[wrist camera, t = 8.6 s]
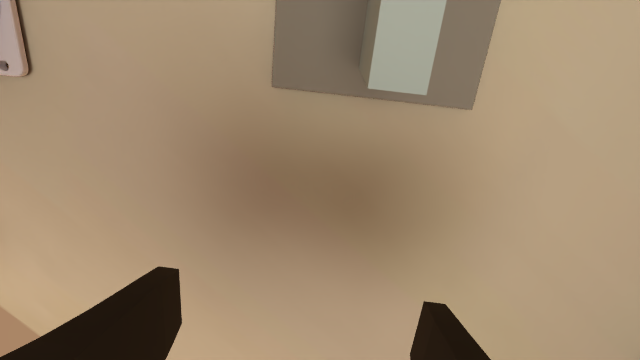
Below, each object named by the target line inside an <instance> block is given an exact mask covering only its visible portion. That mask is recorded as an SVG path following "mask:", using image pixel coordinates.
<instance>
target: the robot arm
mask: <svg viewBox="0 0 640 360" xmlns="http://www.w3.org/2000/svg"><path fill="white" fill-rule="evenodd" d="M6 62H7V63H8V65H9V69H8V68H7V66H6ZM27 73H28V64H27V59H26V53H25V48H24V43H23V38H22V33H21V28H20V23H19V18H18V13H17V7H16V2H15V0H0V75H5V76H14V77H19V76H25V75H26V74H27ZM181 324H182V318H181V299H180V281H179V269H174V268H166V267H157V268H155V269H153V270H152V271H150V272H148V273H147V274H145V275H144V276H142V277H140V278H139V279H137V280H136V281H134V282H132V283H131V284H129V285H128V286H126V287H125V288H123V289H121V290H120V291H118V292H117V293H115V294H113V295H112V296H110V297H109V298H107V299H105V300H104V301H102V302H100V303H99V304H97V305H96V306H94V307H92V308H91V309H89V310H87V311H86V312H84V313H82V314H80V315H79V316H77V317H75V318H73V319H72V320H70V321H68V322H66V323H65V324H63V325H61V326H59V327H58V328H56V329H54V330H52V331H51V332H49V333H47V334H45V335H43V336H41V337H40V338H38V339H36V340H34V341H32V342H30V343H28V344H26V345H24V346H22V347H20V348H18V349H16V350H14V351H12V352H10V353H8V354H6V355H4V356H2V357H0V360H165V359H166V357H167V355H168V353H169V351H170V349H171V347H172V345H173V342H174V340H175V338H176V336H177V333H178V331H179V329H180V326H181ZM410 360H491V359H490V358H489V357H488V356H487V355H486V353H485V352H484V351H483V350H482V349H481V347H480V346H479V345H478V344H477V343H476V341H475V340H474V339H473V338H472V336H471V335H470V334H469V333H468V331H467V330H466V329H465V328H464V327H463V325H462V324H461V323H460V322H459V320H458V319H457V318H456V317H455V315H454V314H453V313H452V312H451V310H450V309H449V308H448V307H447V306H446V304H440V303H433V302H425V301H424V303H423V307H422V311H421V315H420V318H419V322H418V326H417V330H416V333H415V337H414V341H413V345H412V348H411V352H410Z"/></svg>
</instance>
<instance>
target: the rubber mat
mask: <svg viewBox="0 0 640 360" xmlns="http://www.w3.org/2000/svg"><path fill="white" fill-rule="evenodd" d="M500 2H501V0H447V1H446V6H445V10H444V15H443V20H442V24H441V29H440V34H439V38H438V43H437V48H436V52H435V57H434V62H433V66H432V71H431V76H430V80H429V85H428V90H427V94H426V95H420V94H411V93H403V92H394V91H385V90H377V89H368V88H367V85H366V83H365V81H364V79H363V76H362V74H361V72H360V69H359V63H360V56H361V49H362V42H363V35H364V28H365V20H366V13H367V6H368V0H276V11H275V31H274V50H273V70H272V87H278V88H286V89H295V90H303V91H312V92H321V93H329V94H338V95H347V96H355V97H364V98H373V99H381V100H390V101H399V102H407V103H416V104H425V105H433V106H442V107H451V108H459V109H468V110H472V108H473V105H474V101H475V97H476V93H477V89H478V86H479V82H480V78H481V74H482V70H483V67H484V63H485V59H486V55H487V51H488V48H489V44H490V40H491V36H492V32H493V29H494V25H495V21H496V17H497V13H498V10H499V6H500Z"/></svg>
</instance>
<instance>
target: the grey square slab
mask: <svg viewBox="0 0 640 360" xmlns="http://www.w3.org/2000/svg"><path fill="white" fill-rule="evenodd" d="M446 1H447V0H368V6H367V13H366V20H365V28H364V35H363V42H362V49H361V56H360V63H359V69H360V72H361V74H362V76H363V79H364V81H365V83H366V85H367V88H368V89H377V90H385V91H394V92H403V93H411V94H420V95H426V94H427V90H428V85H429V80H430V76H431V71H432V66H433V62H434V57H435V52H436V48H437V43H438V38H439V34H440V29H441V24H442V20H443V15H444V10H445V6H446Z"/></svg>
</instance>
